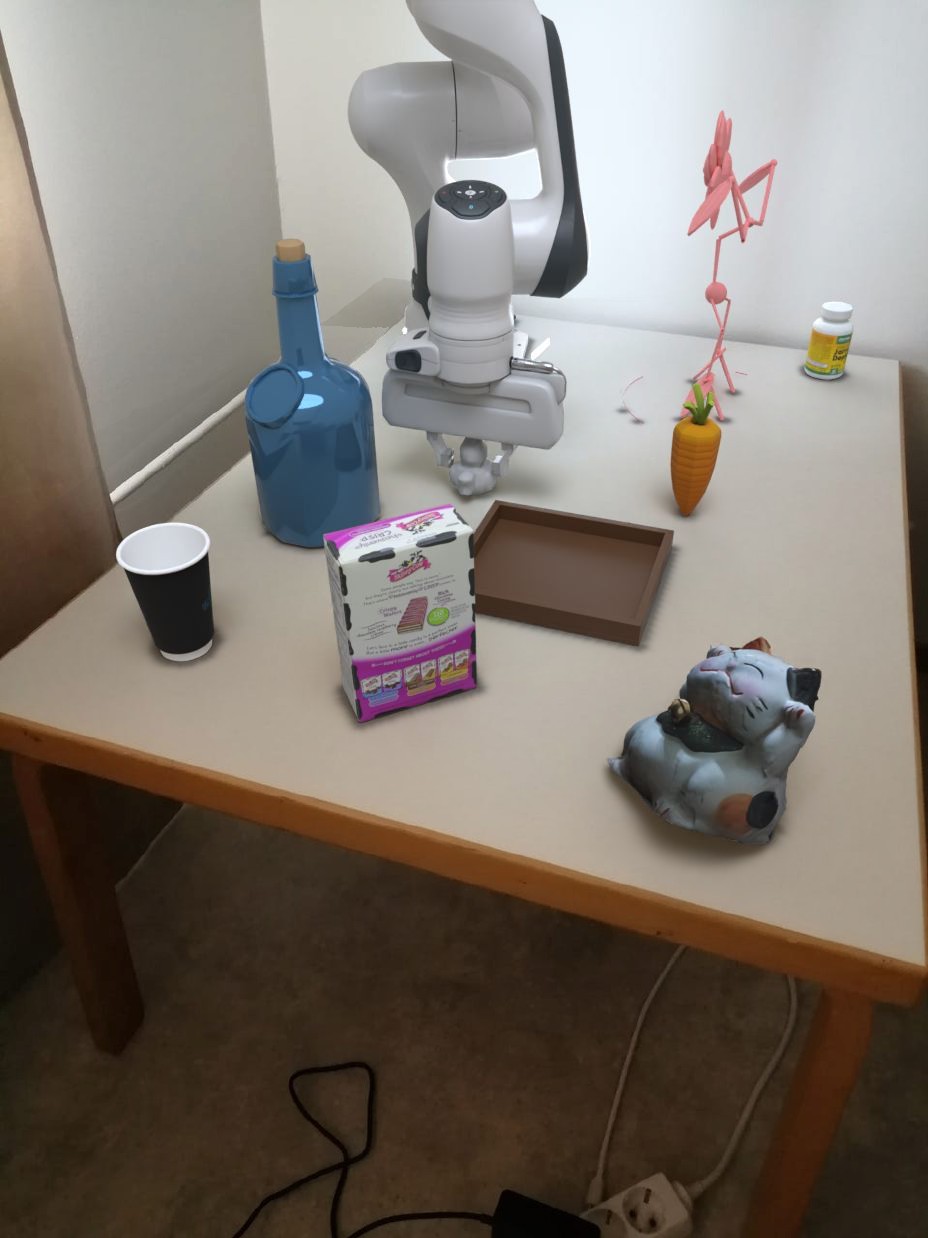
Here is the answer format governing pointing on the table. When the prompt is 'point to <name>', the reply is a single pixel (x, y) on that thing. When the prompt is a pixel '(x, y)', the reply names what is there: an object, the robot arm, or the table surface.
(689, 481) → the carrot
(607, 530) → the serving tray
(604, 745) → the table surface
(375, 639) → the candy bar box
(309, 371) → the wine bottle
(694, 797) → the lucky cat figurine
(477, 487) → the rubber duck
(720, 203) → the figurine
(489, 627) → the table surface
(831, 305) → the supplement bottle
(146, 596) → the dixie cup
